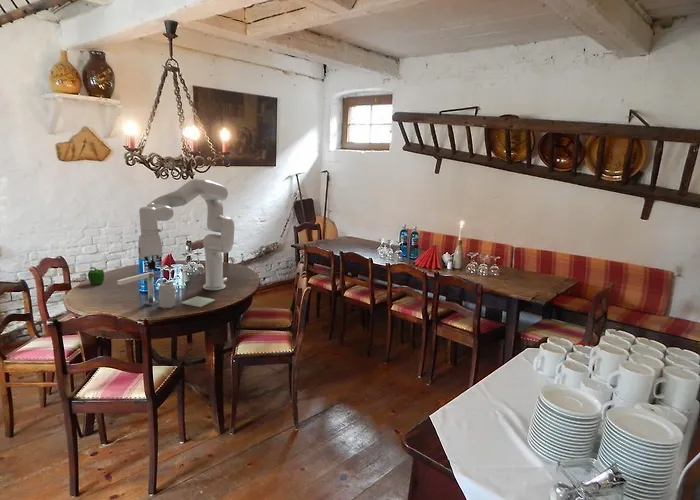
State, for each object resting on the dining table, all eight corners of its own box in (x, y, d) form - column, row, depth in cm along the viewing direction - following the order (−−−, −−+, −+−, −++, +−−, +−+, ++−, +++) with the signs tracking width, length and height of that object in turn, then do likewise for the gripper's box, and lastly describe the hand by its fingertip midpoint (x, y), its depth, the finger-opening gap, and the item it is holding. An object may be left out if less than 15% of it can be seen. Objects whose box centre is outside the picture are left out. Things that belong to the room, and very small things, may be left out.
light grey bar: (150, 274, 232) (150, 271, 231) (155, 276, 230) (155, 272, 230) (116, 284, 214) (115, 280, 214) (121, 285, 213) (121, 281, 212)
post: (151, 301, 236) (150, 275, 233) (159, 302, 234) (157, 276, 231) (144, 304, 231) (142, 277, 228) (151, 305, 229) (150, 279, 226)
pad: (196, 297, 245) (196, 296, 245) (215, 300, 241) (215, 299, 241) (181, 303, 234) (181, 302, 234) (200, 307, 230) (200, 306, 230)
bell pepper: (108, 282, 264) (107, 265, 262) (99, 286, 256) (98, 269, 254) (94, 281, 264) (93, 264, 262) (85, 285, 256) (84, 268, 254)
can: (177, 304, 233) (176, 282, 231) (172, 309, 226) (171, 286, 223) (162, 303, 233) (161, 281, 230) (157, 308, 226) (156, 285, 223)
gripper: (162, 229, 224) (164, 265, 229) (130, 233, 214) (133, 270, 219) (168, 232, 219) (170, 268, 223) (135, 235, 209) (138, 273, 213)
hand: (152, 269), depth 221 cm, fingers closed
